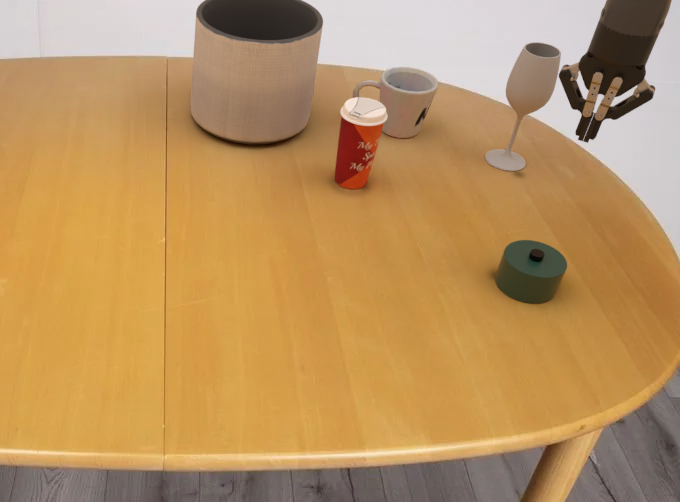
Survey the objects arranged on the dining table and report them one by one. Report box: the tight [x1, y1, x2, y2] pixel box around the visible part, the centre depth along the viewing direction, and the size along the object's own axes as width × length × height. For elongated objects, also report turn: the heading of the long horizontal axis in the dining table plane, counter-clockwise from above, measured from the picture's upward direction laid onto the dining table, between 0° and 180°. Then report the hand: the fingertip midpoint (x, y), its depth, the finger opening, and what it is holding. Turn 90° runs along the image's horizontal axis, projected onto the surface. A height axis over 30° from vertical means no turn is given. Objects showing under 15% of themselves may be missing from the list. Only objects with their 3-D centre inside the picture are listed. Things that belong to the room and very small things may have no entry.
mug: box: [352, 66, 440, 139], centre depth 162 cm, size 10×15×10 cm
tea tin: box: [494, 239, 568, 305], centre depth 130 cm, size 9×9×6 cm
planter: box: [189, 0, 324, 145], centre depth 159 cm, size 23×23×20 cm
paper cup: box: [334, 96, 387, 190], centre depth 147 cm, size 8×8×14 cm
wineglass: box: [484, 41, 562, 173], centre depth 151 cm, size 8×8×21 cm
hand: (583, 138), depth 125 cm, fingers closed
